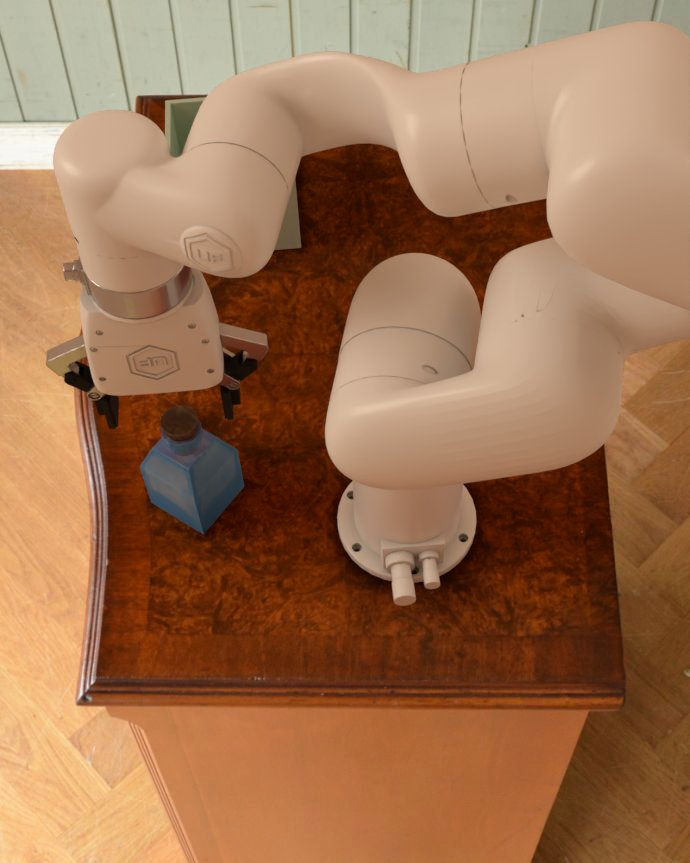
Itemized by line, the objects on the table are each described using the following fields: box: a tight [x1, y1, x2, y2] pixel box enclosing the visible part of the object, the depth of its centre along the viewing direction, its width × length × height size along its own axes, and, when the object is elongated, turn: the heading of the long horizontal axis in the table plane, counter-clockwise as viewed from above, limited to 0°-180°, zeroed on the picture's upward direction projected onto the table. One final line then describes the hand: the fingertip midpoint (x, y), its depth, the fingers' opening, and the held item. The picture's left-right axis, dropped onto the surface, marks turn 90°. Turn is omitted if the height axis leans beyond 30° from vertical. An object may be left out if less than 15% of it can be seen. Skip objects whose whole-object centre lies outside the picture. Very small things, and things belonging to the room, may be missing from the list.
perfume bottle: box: [139, 405, 245, 535], centre depth 102 cm, size 6×6×12 cm
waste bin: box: [164, 96, 302, 251], centre depth 124 cm, size 13×13×11 cm
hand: (171, 410), depth 96 cm, fingers open, 9 cm apart
